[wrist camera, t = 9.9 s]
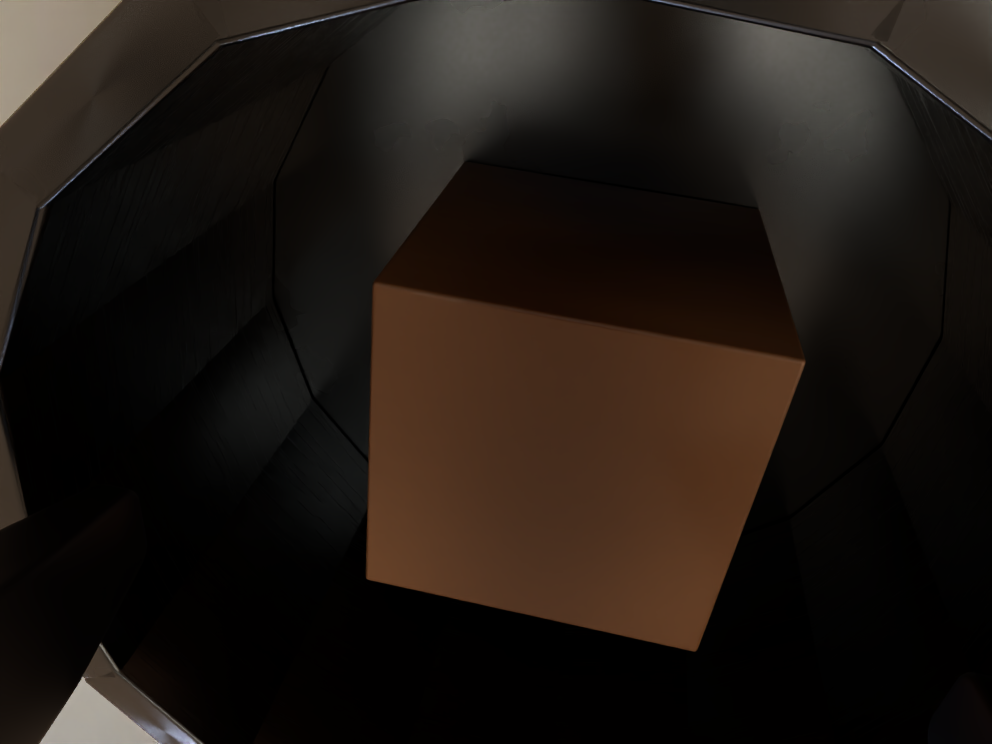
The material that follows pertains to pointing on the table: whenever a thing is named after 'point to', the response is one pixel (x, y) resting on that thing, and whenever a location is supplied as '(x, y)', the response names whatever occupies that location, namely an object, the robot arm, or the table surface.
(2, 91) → the table surface
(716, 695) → the pot
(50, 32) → the table surface
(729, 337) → the block
